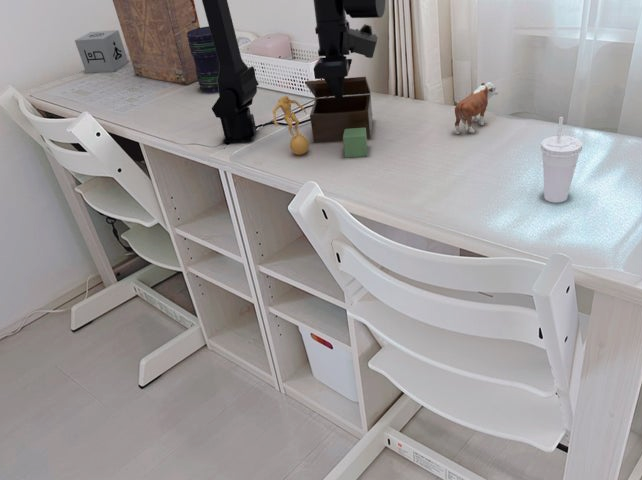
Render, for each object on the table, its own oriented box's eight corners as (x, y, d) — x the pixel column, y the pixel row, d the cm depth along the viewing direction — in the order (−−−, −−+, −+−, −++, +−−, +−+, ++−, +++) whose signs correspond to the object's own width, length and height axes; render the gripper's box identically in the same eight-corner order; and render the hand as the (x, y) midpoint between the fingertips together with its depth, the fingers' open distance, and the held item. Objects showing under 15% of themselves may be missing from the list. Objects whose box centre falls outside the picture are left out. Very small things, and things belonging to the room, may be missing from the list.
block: (345, 157, 124) (342, 137, 122) (346, 148, 128) (344, 128, 125) (366, 156, 124) (364, 135, 121) (367, 147, 127) (365, 127, 125)
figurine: (292, 163, 125) (282, 105, 118) (273, 156, 128) (262, 100, 121) (321, 148, 129) (313, 92, 122) (302, 142, 133) (294, 87, 126)
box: (370, 139, 131) (368, 110, 127) (313, 142, 132) (309, 114, 129) (372, 121, 139) (370, 93, 135) (319, 124, 141) (315, 97, 137)
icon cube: (86, 72, 197) (74, 40, 191) (101, 63, 205) (90, 31, 199) (114, 71, 195) (103, 38, 189) (128, 61, 203) (118, 30, 197)
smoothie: (530, 191, 106) (537, 112, 97) (567, 186, 106) (577, 107, 97) (543, 208, 101) (551, 126, 92) (581, 203, 101) (593, 121, 92)
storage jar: (218, 79, 176) (203, 13, 166) (242, 83, 171) (228, 14, 160) (192, 91, 170) (175, 22, 159) (217, 95, 165) (200, 24, 154)
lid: (365, 80, 124) (365, 76, 124) (305, 84, 125) (305, 81, 125) (370, 93, 135) (370, 90, 135) (315, 97, 137) (315, 94, 137)
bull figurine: (500, 118, 133) (502, 80, 128) (464, 139, 126) (465, 100, 121) (483, 114, 136) (484, 77, 131) (447, 135, 128) (447, 96, 123)
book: (135, 75, 189) (101, -34, 171) (159, 66, 194) (129, -40, 176) (187, 85, 175) (157, -32, 157) (211, 75, 181) (184, -39, 163)
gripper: (370, 27, 107) (377, 114, 117) (375, 3, 122) (380, 82, 131) (308, 32, 108) (319, 117, 118) (320, 8, 123) (329, 86, 133)
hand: (339, 99), depth 125 cm, fingers closed
